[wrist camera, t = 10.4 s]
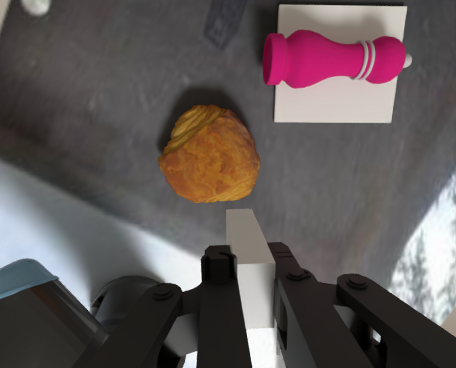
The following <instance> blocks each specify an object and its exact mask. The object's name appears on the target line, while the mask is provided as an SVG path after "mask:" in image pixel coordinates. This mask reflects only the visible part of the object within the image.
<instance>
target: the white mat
mask: <svg viewBox="0 0 456 368" xmlns="http://www.w3.org/2000/svg"><path fill="white" fill-rule="evenodd" d="M406 11H407V7H404V6H341V5H279V10H278V33H282V34H283V35H284V37H285V38H287V37H289V36H290V35H291V34H292V33H293V32H295V31H297V30H301V29H303V30H311V31H314V32H316V33H319V34H321V35H322V36H324V37H326V38H328V39H330V40H332V41H334V42H338V43H341V44H355V43H356V42H357V41H358V40H364V41H365V40H370V41H371V42H372V41H373V40H375V39H377V38H379V37H382V36H391V37H395V38H397V39H399V40H400V41H401V42H402V39H403V32H404V25H405V18H406ZM396 82H397V76H396V77H395V78H394V79H392V80H391V81H389V82H386V83H382V84H372V83H369V82H368V81H366V80H365V79H364V80H351V79H350V78H349V77H347V76H335V77H330V78H327V79H325V80H322V81H320V82H318V83H316V84H314V85H312V86H309V87H305V88H297V89H294V88H291V87H290V86H288V85H287V84H286V83H285V82H284V81H283V80H282V81H281V83H280V84H279V85H275V101H274V122H345V123H391V118H392V111H393V104H394V97H395V90H396Z"/></svg>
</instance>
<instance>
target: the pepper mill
mask: <svg viewBox="0 0 456 368" xmlns="http://www.w3.org/2000/svg"><path fill="white" fill-rule="evenodd" d="M411 62H412V57H411V56H410V55H409V54H406V50H405V46H404V45H403V43H402V42H401V41H400V40H399V39H397V38H395V37H391V36H382V37H379V38H377V39H375V40H373V41H372V42H371V41H370V40H365V41H364V40H358V41H357V42H356V43H355V44H341V43H338V42H334V41H332V40H330V39H328V38H326V37H324V36H322V35H321V34H319V33H316V32H314V31H311V30H303V29H301V30H297V31H295V32H293V33H292V34H291V35H290V36H289V37H287V38H285V37H284V35H283V34H282V33H270V34H268V36H267V38H266V41H265V45H264V52H263V78H264V82H265V84H266V85H279V84H280V83H281V81H282V80H283V81H284V82H285V83H286V84H287V85H288V86H290V87H291V88H294V89H297V88H305V87H309V86H312V85H314V84H316V83H318V82H320V81H322V80H325V79H327V78H330V77H335V76H347V77H349V78H350V79H351V80H364V79H365V80H366V81H368V82H369V83H372V84H382V83H386V82H389V81H391V80H392V79H394V78H395V77H396V76H397V75H398V74H399V73H400V71H401V70H402V68H405V67H408V66H409V65H410V64H411Z"/></svg>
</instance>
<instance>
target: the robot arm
mask: <svg viewBox="0 0 456 368" xmlns="http://www.w3.org/2000/svg"><path fill="white" fill-rule="evenodd" d="M226 228H227V245H216V246H209V247H208V248H207V249H206V250H205V255H204V256H202V258H201V273H202V282H201V284H200V285H199V286H197V287H195V288H194V289H191V290H188V291H184V292H182V290H181V288H180V287H179V286H178V285H176V284H172V283H161V284H160V283H158V282H156V281H154V280H152V279H149V278H146V277H141V276H126V277H121V278H118V279H116V280H113V281H111V282H110V283H108V284H107V285H106V286H104V287H103V288H102V290H101V291H100V292H99V294H98V295H97V297H96V298H95V300H94V301H93V303H92V305H91V308H90V311H88V310H87V309H86V308H85V307H84V306H83V305H82V304H81V303H80V302H79V301H78V300H77V299H76V297H75V296H74V295H73V294H72V293H71V292H70V291H69V290H68V289H67V288H66V287H65V286H64V285H63V284H62V283H61V282H60V281H59V278H58V277H57V276H54V275H52V274H51V273H50V272H49V271H48V270H47V269H46V268H45V267H44V266H43V265H42V264H40V263H39V262H38V261H36V260H34V259H29V258H27V259H20V260H17V261H15V262H13V263H10V264H8V265H6V266H4V267H2V268H0V368H183V365H184V363H185V358H186V354H189V353H192V352H195V351H197V366H196V368H252V363H251V357H250V351H249V345H248V339H247V333H246V329H257V328H274V316H275V319H276V322H277V355H280V349H281V352H282V355H283V359H284V362H285V365H286V368H456V337H455V336H453V335H451V334H450V333H448V332H447V331H446V330H444V329H443V328H441V327H440V326H438V325H437V324H436V323H434V322H433V321H431V320H430V319H428V318H427V317H425V316H424V315H422V314H421V313H419V312H418V311H416V310H415V309H414V308H412V307H411V306H409V305H408V304H406V303H405V302H403V301H402V300H400V299H399V298H397V297H396V296H394V295H393V294H392V293H390V292H389V291H387V290H386V289H384V288H383V287H381V286H380V285H378V284H377V283H375V282H374V281H372V280H371V279H369V278H367V277H364V276H361V275H359V274H343V275H341V276H339V277H338V278H337V285H334V284H327V283H321V282H318V281H317V280H316V278H315V277H314V275H313V274H312V273H311V272H310V271H308V270H306V269H303V268H301V267H300V266H299V264H298V262H297V261H296V259H295V258H294V256H293V254H292V253H291V251H290V249H289V248H288V246H286V245H285V244H283V243H282V242H273V243H266V240H265V238H264V236H263V234H262V231H261V229H260V227H259V225H258V222H257V220H256V218H255V216H254V213H253V211H252V209H232V210H226ZM373 329H374V330H375V331H376V332H377V333H378V334H379V335H380V336H381V340H380V343H379V342H378V341H376V340H375V339H374V338H373Z"/></svg>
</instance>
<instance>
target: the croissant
mask: <svg viewBox="0 0 456 368" xmlns="http://www.w3.org/2000/svg"><path fill="white" fill-rule="evenodd" d="M158 162H159V167H160V169H161V171H162V172H163V173H164V175H165V177H166V180H167V182H168V183H169V184H170V186H171V187H172V188H173V189H174V191H175V193H176V194H178V195H180V196H183V197H184V198H186V199H188V200H190V201H192V202H195V203H200V202H205V203H208V202H215V201H218V200H219V201H228V200H232V201H234V200H238V199H241V198H243V197H245V196H247V195H249V194H250V192H251V191H252V188H253V187H254V186H255V183H256V178H257V177H258V173H259V171H258V170H259V169H260V158H259V155H258V153H257V152H256V149H255V144H254V141H253V139H252V136H251V134H250V133H249V131H248V130H247V128H246V127H245V126H244V124H243V123H242V122H241V121H240V120H239V118H238V117H237V116H236V114H235V113H233V112H232V111H231V110H229V109H224V108H219V107H218V106H215V105H213V104H212V105H194V106H193V107H192V109H190V110H189V111H187V112H185V113H183V114H182V115H181V116H180V117H179V119H178V121H176V123H175V128H173V130H172V132H171V140H170V141H169V142H168V144H167V146H166V147H165V148H164V150H163V153H162V156H160V157H159V158H158Z"/></svg>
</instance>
